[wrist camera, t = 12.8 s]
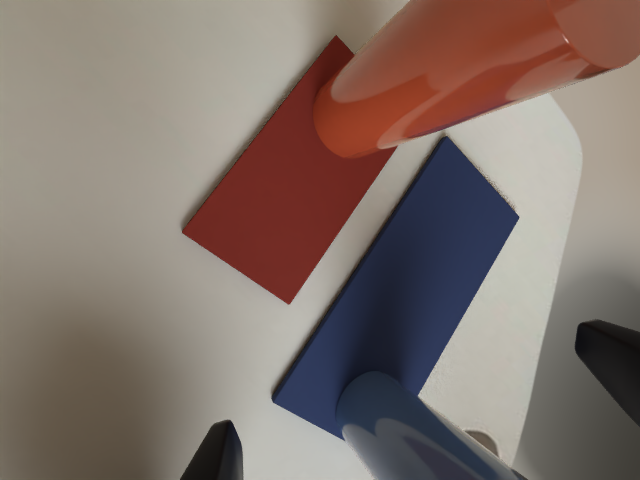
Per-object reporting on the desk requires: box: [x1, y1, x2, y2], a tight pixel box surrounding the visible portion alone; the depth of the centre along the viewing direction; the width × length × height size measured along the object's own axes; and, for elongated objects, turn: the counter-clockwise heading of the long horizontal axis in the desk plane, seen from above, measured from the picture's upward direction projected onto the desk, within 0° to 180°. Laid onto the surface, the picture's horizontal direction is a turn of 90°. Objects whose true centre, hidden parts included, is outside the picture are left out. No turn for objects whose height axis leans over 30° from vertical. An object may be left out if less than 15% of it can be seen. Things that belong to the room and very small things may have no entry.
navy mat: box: [271, 136, 519, 441], centre depth 22 cm, size 20×9×1 cm, turn 142°
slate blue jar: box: [336, 371, 528, 480], centre depth 16 cm, size 5×5×12 cm
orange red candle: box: [313, 0, 640, 159], centre depth 12 cm, size 5×5×16 cm
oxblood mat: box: [182, 35, 398, 304], centre depth 19 cm, size 14×7×1 cm, turn 142°
